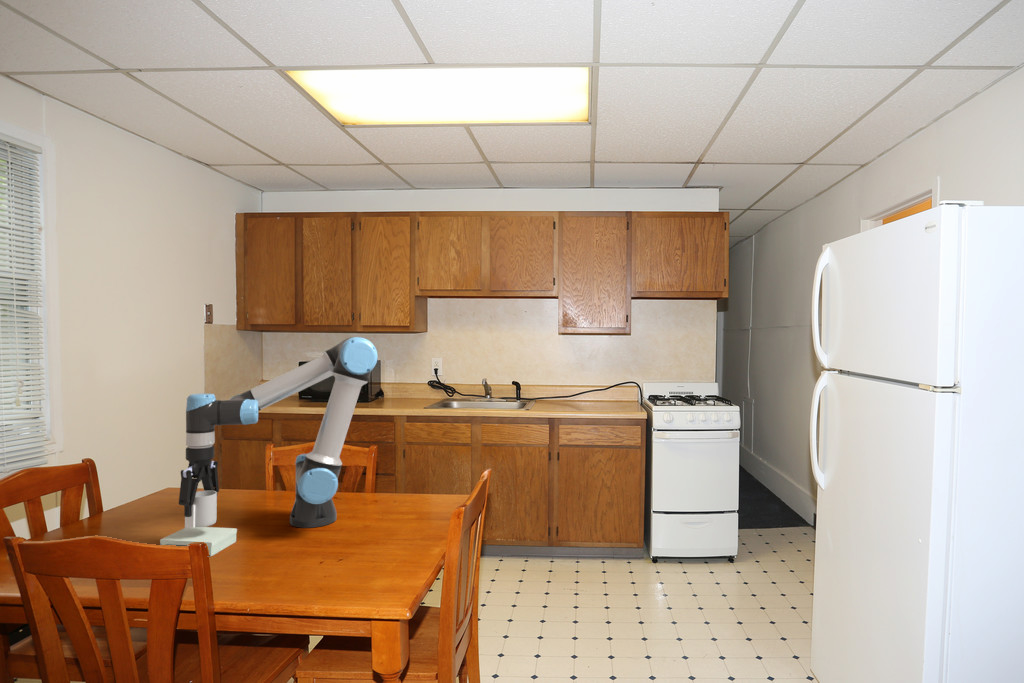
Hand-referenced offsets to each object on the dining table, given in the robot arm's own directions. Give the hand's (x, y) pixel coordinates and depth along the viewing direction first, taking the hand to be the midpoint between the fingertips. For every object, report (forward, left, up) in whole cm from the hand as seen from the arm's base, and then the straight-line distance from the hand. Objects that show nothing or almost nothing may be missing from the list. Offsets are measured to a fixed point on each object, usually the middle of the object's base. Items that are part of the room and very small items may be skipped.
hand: (199, 522), depth 169 cm
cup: (0, -1, 0) cm, 1 cm away
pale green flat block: (0, 0, -7) cm, 7 cm away
